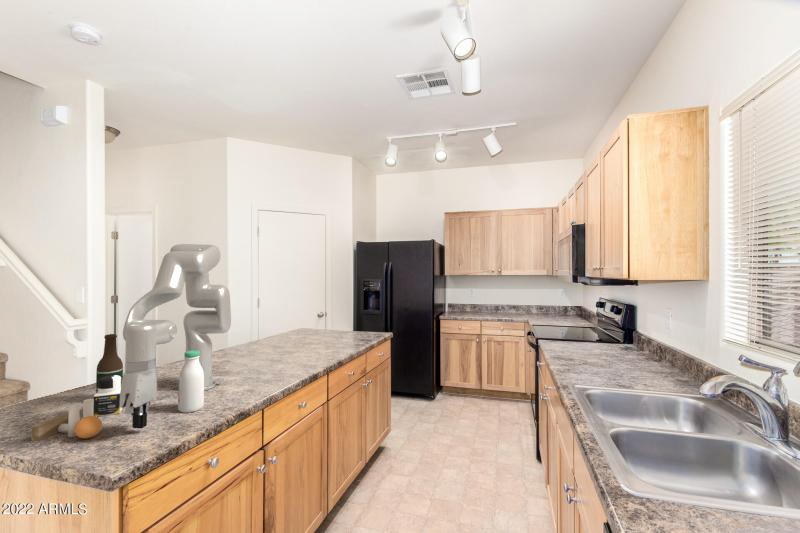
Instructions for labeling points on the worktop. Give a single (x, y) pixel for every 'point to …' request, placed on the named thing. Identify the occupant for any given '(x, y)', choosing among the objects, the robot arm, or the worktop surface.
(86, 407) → the pin
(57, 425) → the bar
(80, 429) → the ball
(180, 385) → the milk bottle
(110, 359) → the beer bottle
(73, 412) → the pin
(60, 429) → the pin front
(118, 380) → the medicine bottle
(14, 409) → the worktop surface
